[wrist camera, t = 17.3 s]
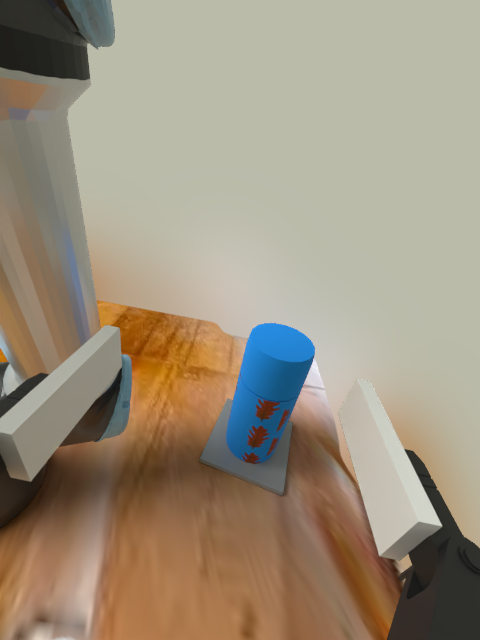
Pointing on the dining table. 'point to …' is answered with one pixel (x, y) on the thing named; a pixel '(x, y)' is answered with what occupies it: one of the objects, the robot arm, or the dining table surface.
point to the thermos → (267, 390)
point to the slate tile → (258, 474)
